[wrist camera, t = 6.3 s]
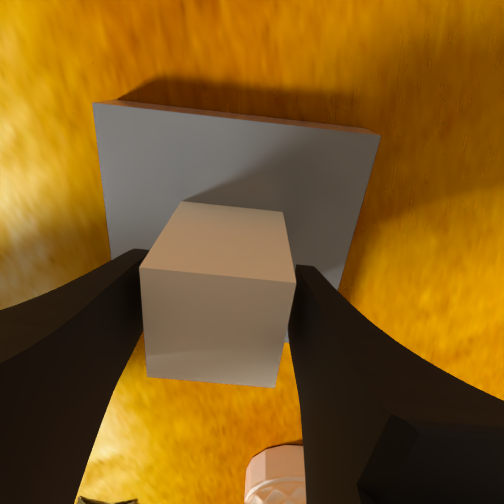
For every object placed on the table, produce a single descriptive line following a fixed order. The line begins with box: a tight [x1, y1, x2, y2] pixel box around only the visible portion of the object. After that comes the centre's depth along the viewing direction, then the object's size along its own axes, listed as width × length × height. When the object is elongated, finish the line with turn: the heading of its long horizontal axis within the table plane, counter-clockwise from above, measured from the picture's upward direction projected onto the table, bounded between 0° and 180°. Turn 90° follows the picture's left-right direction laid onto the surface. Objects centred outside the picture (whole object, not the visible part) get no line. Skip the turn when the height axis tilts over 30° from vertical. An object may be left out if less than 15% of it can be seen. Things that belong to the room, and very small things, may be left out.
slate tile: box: [92, 100, 381, 343], centre depth 14 cm, size 10×10×2 cm
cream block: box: [139, 201, 296, 388], centre depth 11 cm, size 4×4×5 cm
